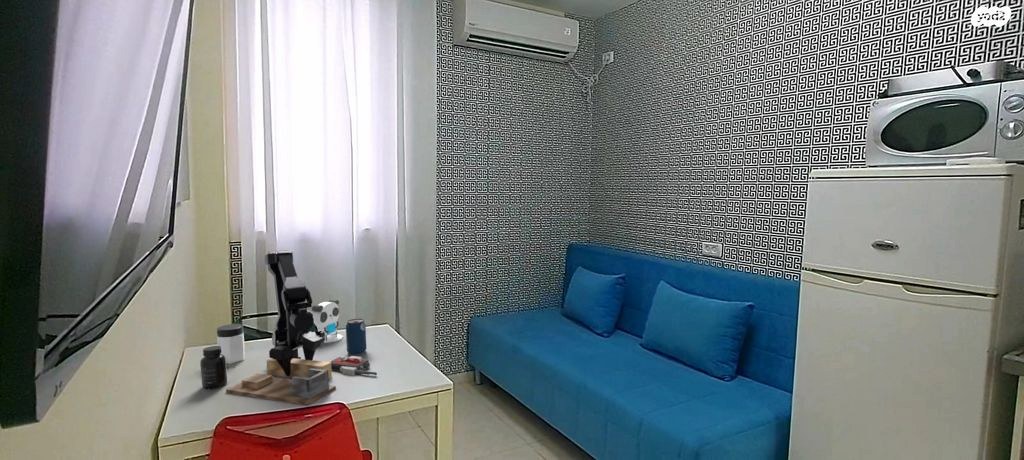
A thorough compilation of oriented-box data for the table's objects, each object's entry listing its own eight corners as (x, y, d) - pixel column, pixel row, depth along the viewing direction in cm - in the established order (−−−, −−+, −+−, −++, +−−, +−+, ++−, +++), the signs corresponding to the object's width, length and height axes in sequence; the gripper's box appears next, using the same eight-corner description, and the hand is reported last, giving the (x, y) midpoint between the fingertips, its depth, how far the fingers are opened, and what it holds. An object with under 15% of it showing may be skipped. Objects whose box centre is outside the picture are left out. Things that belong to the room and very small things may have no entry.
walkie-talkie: (322, 373, 170) (374, 379, 164) (321, 360, 170) (374, 365, 163) (338, 364, 178) (389, 369, 172) (338, 351, 178) (389, 357, 172)
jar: (220, 357, 185) (218, 325, 184) (245, 354, 188) (244, 322, 187) (217, 365, 177) (214, 331, 176) (243, 362, 180) (241, 328, 179)
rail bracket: (226, 392, 153) (224, 371, 153) (258, 378, 165) (256, 358, 164) (307, 405, 144) (306, 382, 143) (335, 389, 155) (334, 368, 154)
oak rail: (267, 375, 168) (266, 360, 168) (276, 370, 172) (275, 356, 172) (323, 382, 161) (323, 366, 161) (331, 377, 165) (331, 362, 165)
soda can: (370, 351, 190) (369, 319, 189) (355, 357, 184) (354, 324, 183) (357, 348, 194) (356, 317, 193) (342, 353, 188) (341, 321, 187)
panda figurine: (328, 344, 199) (326, 306, 198) (305, 341, 203) (303, 304, 202) (348, 336, 210) (347, 300, 209) (326, 333, 214) (324, 298, 213)
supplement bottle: (208, 382, 162) (206, 344, 161) (231, 381, 162) (229, 344, 161) (197, 390, 155) (194, 351, 154) (221, 389, 156) (218, 351, 155)
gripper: (295, 334, 154) (298, 384, 155) (336, 318, 171) (338, 364, 173) (266, 331, 157) (269, 380, 159) (309, 316, 175) (311, 361, 176)
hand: (299, 371), depth 167 cm, fingers open, 9 cm apart
